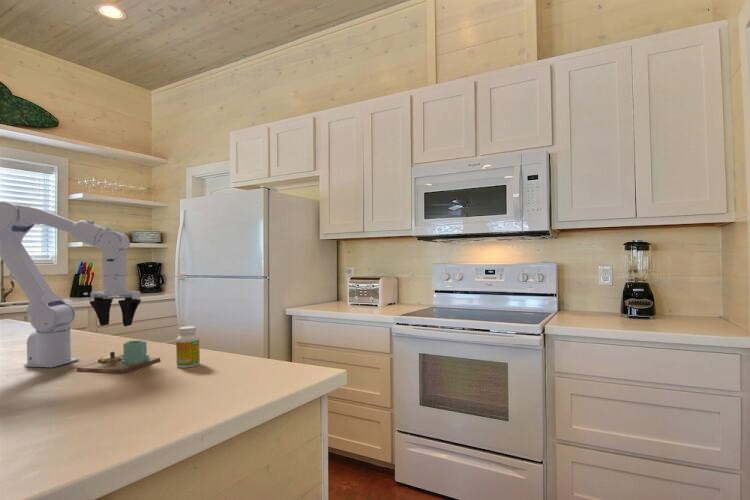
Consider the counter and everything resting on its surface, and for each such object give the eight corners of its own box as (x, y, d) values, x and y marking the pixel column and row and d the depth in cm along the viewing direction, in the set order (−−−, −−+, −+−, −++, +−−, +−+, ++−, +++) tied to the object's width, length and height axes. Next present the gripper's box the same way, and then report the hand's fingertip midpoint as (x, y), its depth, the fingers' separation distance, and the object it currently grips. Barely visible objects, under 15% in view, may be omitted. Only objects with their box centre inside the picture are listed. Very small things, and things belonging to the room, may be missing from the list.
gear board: (76, 370, 105) (76, 353, 105) (116, 358, 116) (116, 343, 116) (123, 373, 101) (123, 355, 101) (160, 360, 113) (159, 344, 113)
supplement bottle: (194, 368, 105) (193, 329, 105) (172, 368, 105) (171, 329, 105) (203, 362, 110) (202, 325, 110) (182, 362, 110) (182, 325, 110)
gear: (113, 364, 107) (113, 344, 107) (134, 357, 114) (134, 339, 114) (136, 365, 105) (135, 345, 105) (156, 358, 112) (155, 339, 112)
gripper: (80, 276, 113) (81, 327, 113) (125, 276, 110) (126, 328, 110) (102, 275, 120) (103, 323, 120) (146, 274, 116) (146, 323, 116)
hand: (116, 325), depth 115 cm, fingers open, 7 cm apart
